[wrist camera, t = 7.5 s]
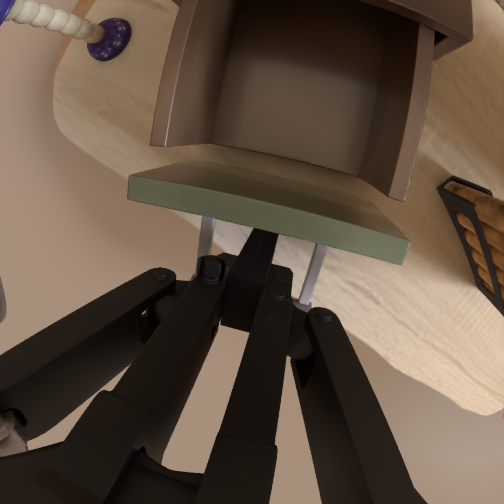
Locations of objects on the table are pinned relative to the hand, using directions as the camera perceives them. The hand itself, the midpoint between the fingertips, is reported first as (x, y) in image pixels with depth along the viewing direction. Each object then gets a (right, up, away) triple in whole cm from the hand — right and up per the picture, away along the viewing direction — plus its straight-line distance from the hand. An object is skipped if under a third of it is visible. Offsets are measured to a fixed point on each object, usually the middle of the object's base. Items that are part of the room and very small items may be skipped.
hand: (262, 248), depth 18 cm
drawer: (+2, +8, -1) cm, 8 cm away
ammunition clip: (+17, +1, 0) cm, 17 cm away
